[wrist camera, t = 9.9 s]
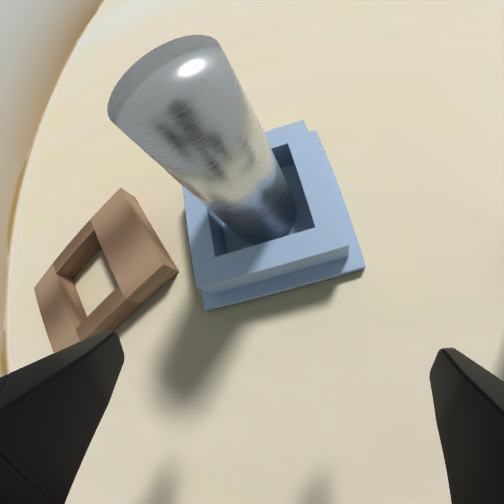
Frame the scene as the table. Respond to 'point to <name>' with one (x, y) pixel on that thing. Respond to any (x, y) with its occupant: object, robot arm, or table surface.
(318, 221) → the tray
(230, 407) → the table surface
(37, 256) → the table surface
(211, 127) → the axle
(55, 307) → the holder
